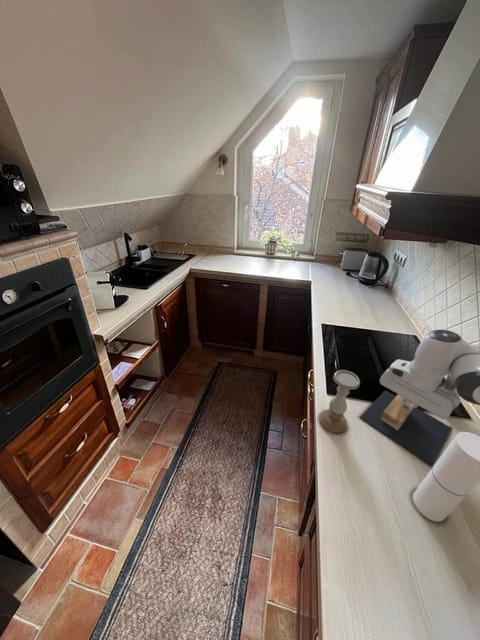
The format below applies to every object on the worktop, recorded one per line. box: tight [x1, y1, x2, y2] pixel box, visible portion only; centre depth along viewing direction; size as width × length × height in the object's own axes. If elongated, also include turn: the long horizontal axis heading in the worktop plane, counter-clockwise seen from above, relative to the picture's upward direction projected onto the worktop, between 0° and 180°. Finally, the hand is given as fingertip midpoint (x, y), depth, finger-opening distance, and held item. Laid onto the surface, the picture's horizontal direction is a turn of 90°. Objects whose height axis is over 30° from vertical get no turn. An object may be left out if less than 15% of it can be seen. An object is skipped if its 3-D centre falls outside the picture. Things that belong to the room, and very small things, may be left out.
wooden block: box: [381, 394, 414, 431], centre depth 88 cm, size 4×12×6 cm
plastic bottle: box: [442, 375, 461, 411], centre depth 88 cm, size 6×7×20 cm
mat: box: [359, 389, 452, 467], centre depth 87 cm, size 22×20×1 cm
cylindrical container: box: [412, 431, 480, 523], centre depth 59 cm, size 7×7×25 cm
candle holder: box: [319, 369, 361, 434], centre depth 82 cm, size 9×9×20 cm
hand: (406, 407), depth 85 cm, fingers closed
